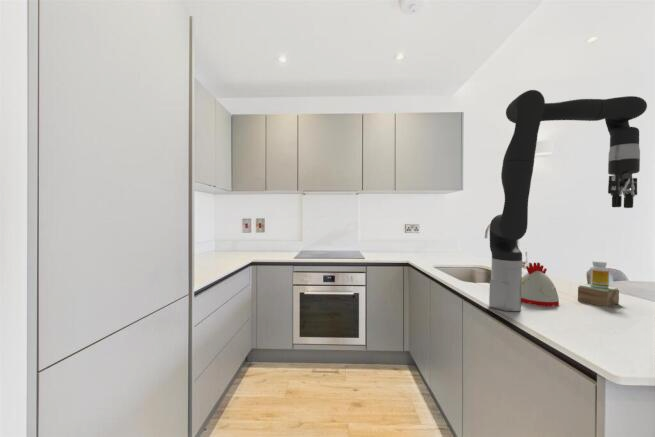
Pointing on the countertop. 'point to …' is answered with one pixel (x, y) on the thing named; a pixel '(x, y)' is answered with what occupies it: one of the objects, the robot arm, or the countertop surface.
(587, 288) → the stand
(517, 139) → the robot arm
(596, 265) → the supplement bottle
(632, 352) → the countertop surface
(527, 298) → the grey and red dome
